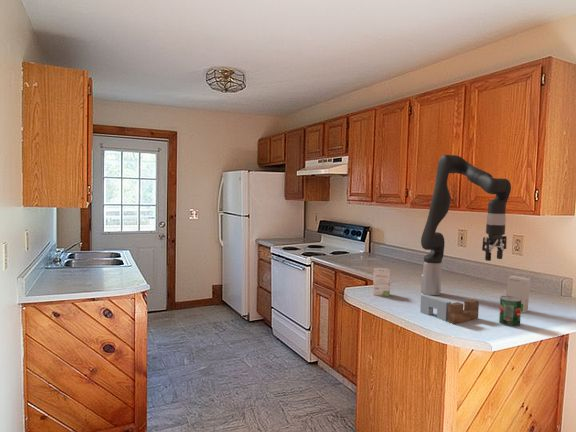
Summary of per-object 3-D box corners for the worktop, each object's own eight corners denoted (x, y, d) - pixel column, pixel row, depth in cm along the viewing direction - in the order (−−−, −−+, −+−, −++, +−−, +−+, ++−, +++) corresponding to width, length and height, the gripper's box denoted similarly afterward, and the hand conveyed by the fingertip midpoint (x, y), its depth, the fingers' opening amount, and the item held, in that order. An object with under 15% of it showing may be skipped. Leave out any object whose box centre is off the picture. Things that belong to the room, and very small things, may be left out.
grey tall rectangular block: (420, 312, 185) (420, 295, 185) (424, 311, 187) (425, 294, 186) (445, 321, 173) (446, 302, 173) (450, 320, 175) (451, 302, 174)
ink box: (389, 294, 217) (390, 266, 216) (389, 296, 212) (390, 268, 211) (373, 292, 219) (374, 265, 218) (372, 295, 215) (373, 267, 214)
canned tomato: (523, 327, 166) (524, 301, 165) (502, 326, 167) (504, 300, 167) (515, 321, 174) (517, 296, 173) (496, 320, 175) (497, 295, 174)
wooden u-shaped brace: (447, 322, 172) (448, 303, 171) (472, 316, 179) (472, 299, 179) (453, 324, 169) (454, 305, 168) (478, 318, 177) (478, 300, 176)
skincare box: (504, 309, 191) (506, 277, 190) (509, 306, 195) (511, 275, 194) (524, 313, 185) (526, 280, 184) (529, 310, 189) (530, 278, 188)
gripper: (497, 222, 185) (495, 257, 186) (478, 223, 178) (476, 259, 179) (513, 223, 179) (511, 259, 180) (494, 225, 171) (492, 262, 173)
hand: (493, 259), depth 180 cm, fingers open, 8 cm apart
